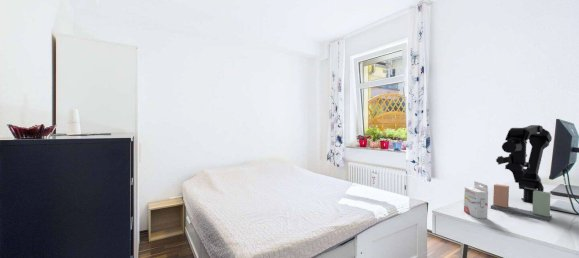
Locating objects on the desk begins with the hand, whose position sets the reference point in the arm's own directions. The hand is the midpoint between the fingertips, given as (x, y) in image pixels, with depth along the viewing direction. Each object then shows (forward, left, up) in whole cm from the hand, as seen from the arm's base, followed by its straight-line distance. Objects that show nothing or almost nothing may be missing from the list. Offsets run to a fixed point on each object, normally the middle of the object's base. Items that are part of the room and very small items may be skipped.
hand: (517, 182), depth 126 cm
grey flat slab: (+14, -1, -12) cm, 19 cm away
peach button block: (+11, -8, -11) cm, 17 cm away
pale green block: (+16, +6, -10) cm, 20 cm away
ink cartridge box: (+30, -19, -12) cm, 38 cm away
